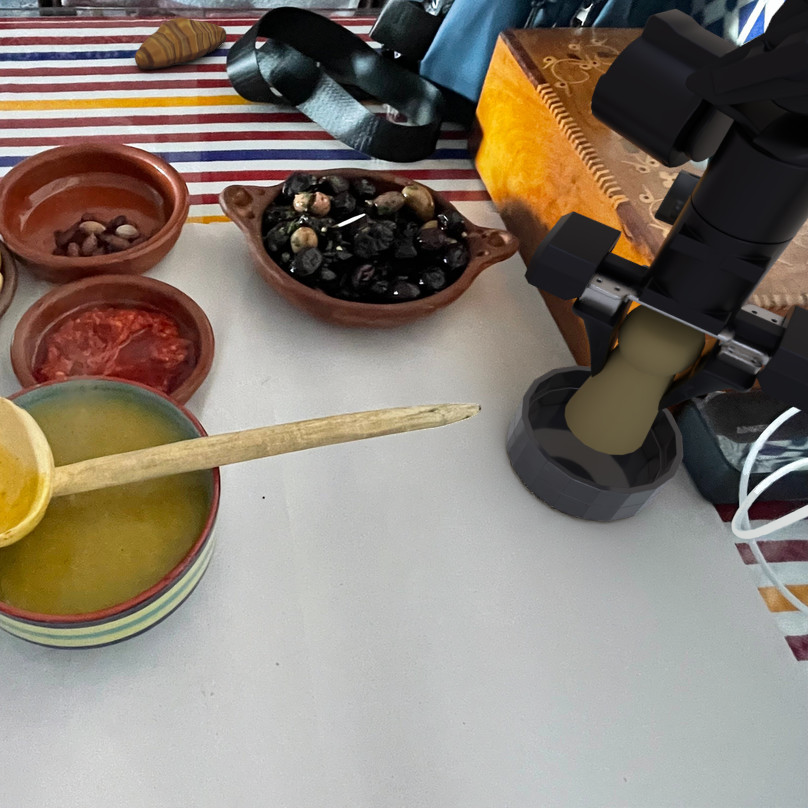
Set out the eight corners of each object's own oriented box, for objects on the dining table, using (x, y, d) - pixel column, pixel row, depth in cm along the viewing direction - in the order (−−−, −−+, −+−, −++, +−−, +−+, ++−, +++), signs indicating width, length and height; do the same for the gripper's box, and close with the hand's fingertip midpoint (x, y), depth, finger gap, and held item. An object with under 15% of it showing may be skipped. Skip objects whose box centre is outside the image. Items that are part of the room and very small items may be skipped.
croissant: (153, 84, 93) (150, 43, 89) (123, 60, 96) (119, 20, 92) (240, 54, 99) (241, 14, 95) (210, 32, 102) (209, -7, 98)
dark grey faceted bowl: (675, 447, 63) (702, 414, 59) (625, 553, 56) (652, 523, 53) (540, 378, 67) (558, 343, 63) (479, 470, 60) (495, 436, 57)
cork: (590, 378, 60) (652, 274, 51) (660, 424, 58) (738, 321, 49) (549, 420, 57) (607, 316, 49) (621, 469, 55) (696, 369, 46)
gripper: (947, 208, 43) (787, 384, 55) (629, 94, 50) (549, 275, 62) (921, 316, 37) (748, 486, 50) (565, 172, 44) (489, 355, 56)
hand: (626, 390), depth 54 cm, fingers closed on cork, 4 cm apart
